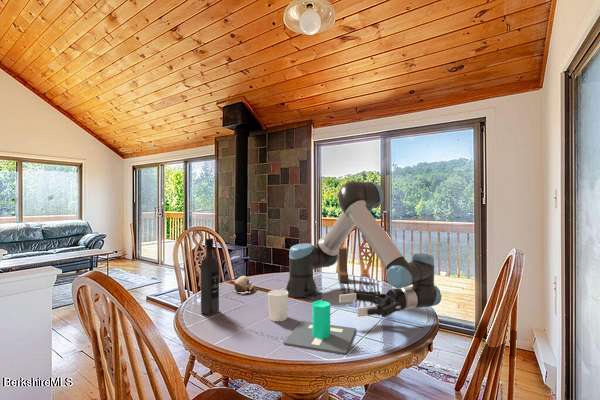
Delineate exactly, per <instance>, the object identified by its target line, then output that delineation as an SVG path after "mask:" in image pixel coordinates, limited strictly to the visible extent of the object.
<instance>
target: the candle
mask: <svg viewBox="0 0 600 400" xmlns="http://www.w3.org/2000/svg"><path fill="white" fill-rule="evenodd" d="M311 307H312V322H313V336H314V337H315V338H318V339H325V338H328V337H330V325H331V303H330V302H328V301H326V300H323V299H322V298H321V299H319V300H315V301H313V302H312V306H311Z"/></svg>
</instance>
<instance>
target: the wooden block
mask: <svg viewBox="0 0 600 400" xmlns="http://www.w3.org/2000/svg"><path fill="white" fill-rule="evenodd" d="M338 256H339V258H338V260H337V262H338V264H337V265H338V268H337V269H338V274H337V275H338V280H339V283H341V284H345V283H346V284H348V283H349V273H348V249H347V247H341V246H340V247H339V255H338Z"/></svg>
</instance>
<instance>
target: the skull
mask: <svg viewBox="0 0 600 400" xmlns="http://www.w3.org/2000/svg"><path fill="white" fill-rule="evenodd" d="M233 285H234V289H235V290H236V291H237V292H245V291H248V292H249V291H250V292H252V293H255V292H256V291H257V288H256V287H255V286H253V283H252V281H251V280H250V278H249V277H248V276H246V275H242V276H239V277H238V278H237V279H236V280H235V281H234V284H233Z"/></svg>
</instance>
